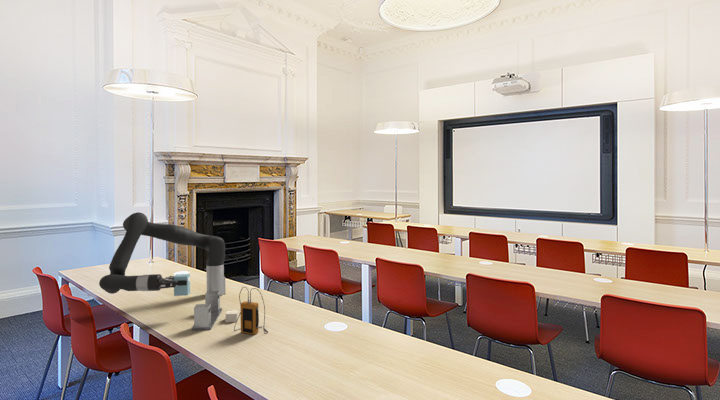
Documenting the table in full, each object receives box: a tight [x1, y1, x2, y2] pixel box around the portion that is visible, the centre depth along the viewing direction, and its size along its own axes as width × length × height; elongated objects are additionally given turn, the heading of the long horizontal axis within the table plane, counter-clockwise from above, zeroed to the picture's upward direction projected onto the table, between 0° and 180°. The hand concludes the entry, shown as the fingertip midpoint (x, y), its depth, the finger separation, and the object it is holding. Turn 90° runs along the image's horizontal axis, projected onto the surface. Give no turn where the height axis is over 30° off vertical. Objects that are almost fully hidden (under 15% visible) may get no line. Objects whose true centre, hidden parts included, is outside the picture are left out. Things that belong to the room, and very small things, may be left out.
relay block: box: [225, 309, 239, 323], centre depth 183 cm, size 5×5×4 cm
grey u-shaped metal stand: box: [191, 290, 223, 332], centre depth 183 cm, size 26×8×10 cm, turn 9°
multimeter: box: [233, 286, 269, 336], centre depth 171 cm, size 15×10×20 cm
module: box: [173, 273, 191, 297], centre depth 185 cm, size 4×6×9 cm
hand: (188, 281), depth 185 cm, fingers closed on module, 4 cm apart
